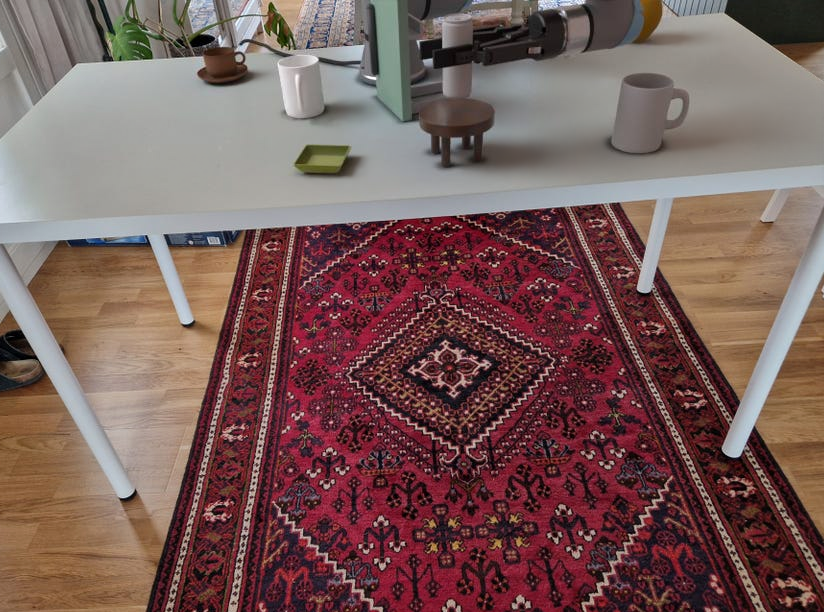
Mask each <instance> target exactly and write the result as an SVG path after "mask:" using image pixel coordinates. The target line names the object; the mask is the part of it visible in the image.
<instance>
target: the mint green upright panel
mask: <svg viewBox="0 0 824 612" xmlns="http://www.w3.org/2000/svg"><path fill="white" fill-rule="evenodd" d="M366 10H367V23H368V36H369V49H370V62H371V73H372V75H374V76H376V98H378V100H380V101H381V102H382V104H384V105H385V106H386V107H387V108H388V109H389V110H390V111H391V112H392V113H393V114H394V115H395V116H396V117H397V118H398V119H400V121H402V122H403V123H404V122H408V121H412V120H413V115H414V114H415V115H416V114H419V111H420V109H421V108H422V107H423V106H425V105H427V104H429V103H431V102H435V101H438V100H443V99H448V98H446V97H445V96H442V97H436V98H430V99H426V100H425V99H424V100H420V101H419V100H418V101H415V102H412V98H415V97H419V96H420V97H421V96H426V95H431V94H436V93H443V80H442V81H434V82H429V83H423V84H418V85H412V83H411V82H410V56H409V40H415V39H416V40H420V39H421V40H422V39H423V38H424V22H423V21H420V20H419V19H417V18H415V17H414V16H412V15H410V14H409V13H408V3H407V0H370V4H368V5H367V7H366Z"/></svg>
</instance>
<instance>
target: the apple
mask: <svg viewBox="0 0 824 612" xmlns="http://www.w3.org/2000/svg"><path fill="white" fill-rule="evenodd" d="M639 1H640V3H641V5H642V7H643V12H642V16H643V17H644V22H643V27H642V30H641V32H640V34H639V36H638V37H637V38H636V39H635V40H634V41H633V42H632V43H638V42H639V43H640V42H645V41H646V40H647V39H649V38H650V37H651V35H653V33H654V32H655V31H656V29H657V28H658V27H659V24H660V23H661V21H662V17H663V9H664V8H663V7H664V5H663V1H662V0H639Z"/></svg>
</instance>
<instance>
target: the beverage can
mask: <svg viewBox="0 0 824 612" xmlns="http://www.w3.org/2000/svg"><path fill="white" fill-rule="evenodd" d="M472 19H473V16H472V15H471V14H469V13H456V14H450V15H447V16H443V17H442V20H443V21H442V24H441V31H442V32H441V33H442V35H441V38H442V48H448V47H454V46H460V45H466V44H472V43H473V28H474V22H473V20H472ZM472 80H473V62H472V63H470V64H464V65H458V66H452V67H447V68H442V82H443V91H442V93H443V96H444V97H446V98H448V99H453V100H460V99H464V98H468V97H469V96H470V95H471V93H472V85H473V83H472Z"/></svg>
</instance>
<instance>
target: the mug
mask: <svg viewBox="0 0 824 612" xmlns="http://www.w3.org/2000/svg"><path fill="white" fill-rule="evenodd" d="M674 85H675V81H674V79H672V78H671V77H669V76H667V75H664V74H660V73H655V72H654V73H653V72H637V73H632V74H627V75H626V76H624V77H623V78H622V81H621V84H620V90H619V96H618V102H617V107H616V113H615V118H614V119H615V120H614V125H613V128H612V129H613V130H612V134H611V141H610V142H611V144H612V146H613V147H614V148H615V149H617V150H619V151H621V152H625V153H630V154H648V153H653V152H655V151H657V150H658V149H659V148H661V146H662V141H663V136H664V132H665V131H669V130H673V129H677V128H679V127H680V126H682V124H683V123H684V122H685V120H686V117H687V116H688V111H689V109H690V93H688V91H687V90H685V89H683V88H676V87H675V86H674ZM676 99H680V100H681V101H682V108H681V111H680V113H679V115H678V117H676V118H675V119H667V118H668V114H669V109H670V106H671V102H672V100H676Z"/></svg>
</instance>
